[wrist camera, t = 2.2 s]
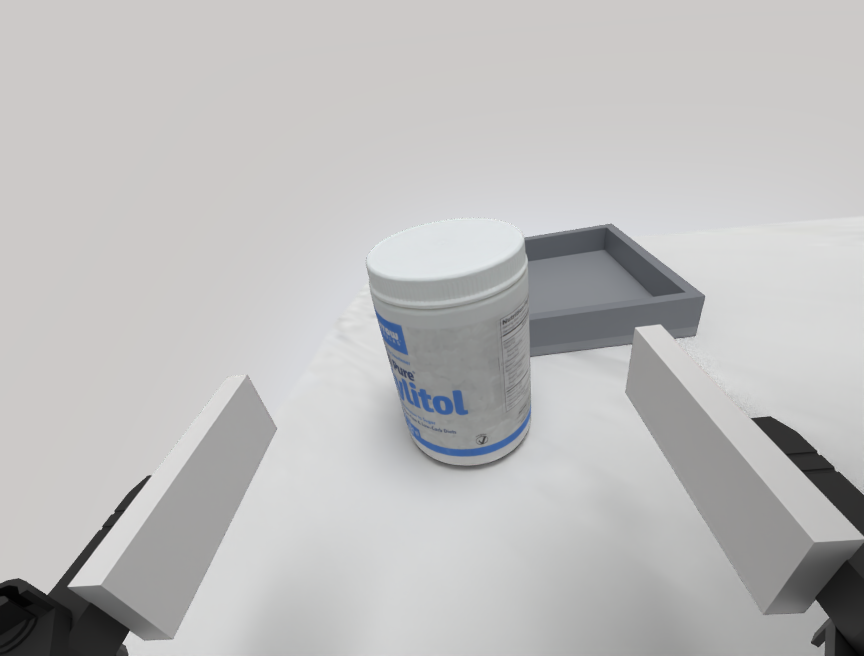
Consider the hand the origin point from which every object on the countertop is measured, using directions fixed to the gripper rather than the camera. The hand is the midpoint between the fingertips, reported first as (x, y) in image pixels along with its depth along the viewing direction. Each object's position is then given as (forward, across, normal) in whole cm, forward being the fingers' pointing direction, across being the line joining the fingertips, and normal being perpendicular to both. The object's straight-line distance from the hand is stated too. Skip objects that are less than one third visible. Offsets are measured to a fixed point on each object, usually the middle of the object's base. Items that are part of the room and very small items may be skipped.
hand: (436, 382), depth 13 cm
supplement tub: (+11, 0, -14) cm, 18 cm away
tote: (+28, +12, -13) cm, 33 cm away
